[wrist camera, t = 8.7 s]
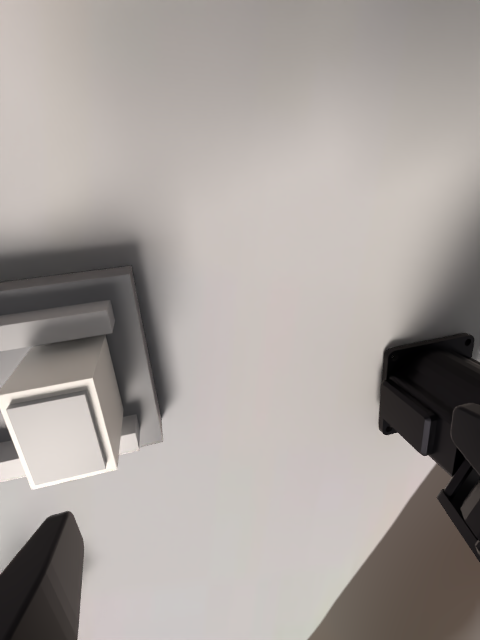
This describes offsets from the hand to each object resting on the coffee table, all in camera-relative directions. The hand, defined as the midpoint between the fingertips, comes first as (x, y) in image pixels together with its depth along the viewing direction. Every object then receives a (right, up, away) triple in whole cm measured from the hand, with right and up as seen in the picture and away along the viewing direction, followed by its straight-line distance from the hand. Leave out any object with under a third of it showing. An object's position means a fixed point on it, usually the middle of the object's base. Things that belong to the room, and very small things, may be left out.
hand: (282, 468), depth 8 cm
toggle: (-8, +1, +8) cm, 12 cm away
